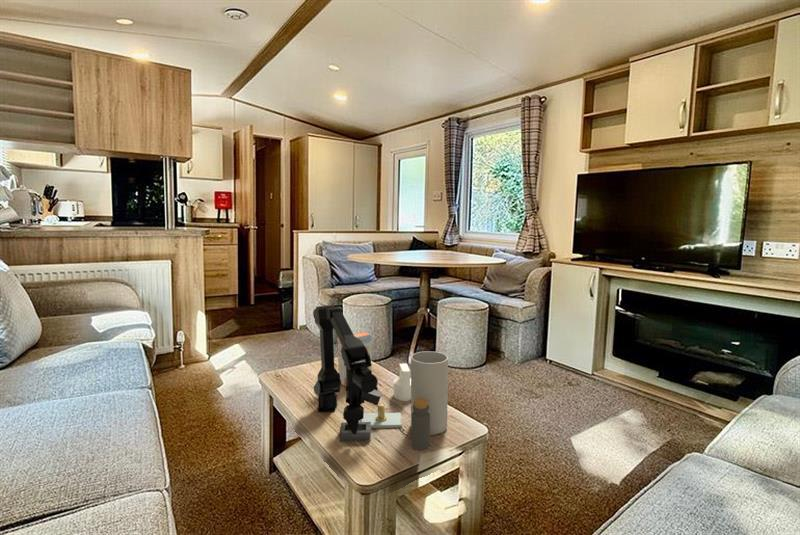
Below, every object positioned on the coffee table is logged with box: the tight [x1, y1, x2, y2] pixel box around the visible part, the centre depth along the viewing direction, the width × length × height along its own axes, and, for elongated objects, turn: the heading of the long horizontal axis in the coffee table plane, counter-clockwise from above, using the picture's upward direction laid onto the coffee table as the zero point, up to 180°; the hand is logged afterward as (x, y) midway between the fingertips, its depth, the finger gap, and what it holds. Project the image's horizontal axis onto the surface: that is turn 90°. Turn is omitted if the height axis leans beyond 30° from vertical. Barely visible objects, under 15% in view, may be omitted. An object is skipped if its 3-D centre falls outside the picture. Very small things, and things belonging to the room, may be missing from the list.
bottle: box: [410, 398, 431, 451], centre depth 135 cm, size 6×6×15 cm
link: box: [338, 421, 372, 443], centre depth 142 cm, size 10×7×3 cm
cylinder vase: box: [410, 350, 449, 436], centre depth 146 cm, size 12×12×25 cm
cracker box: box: [336, 331, 373, 388], centre depth 187 cm, size 14×6×21 cm, turn 127°
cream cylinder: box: [393, 362, 411, 402], centre depth 173 cm, size 9×9×12 cm
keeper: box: [360, 403, 402, 429], centre depth 151 cm, size 14×9×6 cm, turn 92°
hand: (355, 426), depth 142 cm, fingers open, 9 cm apart
